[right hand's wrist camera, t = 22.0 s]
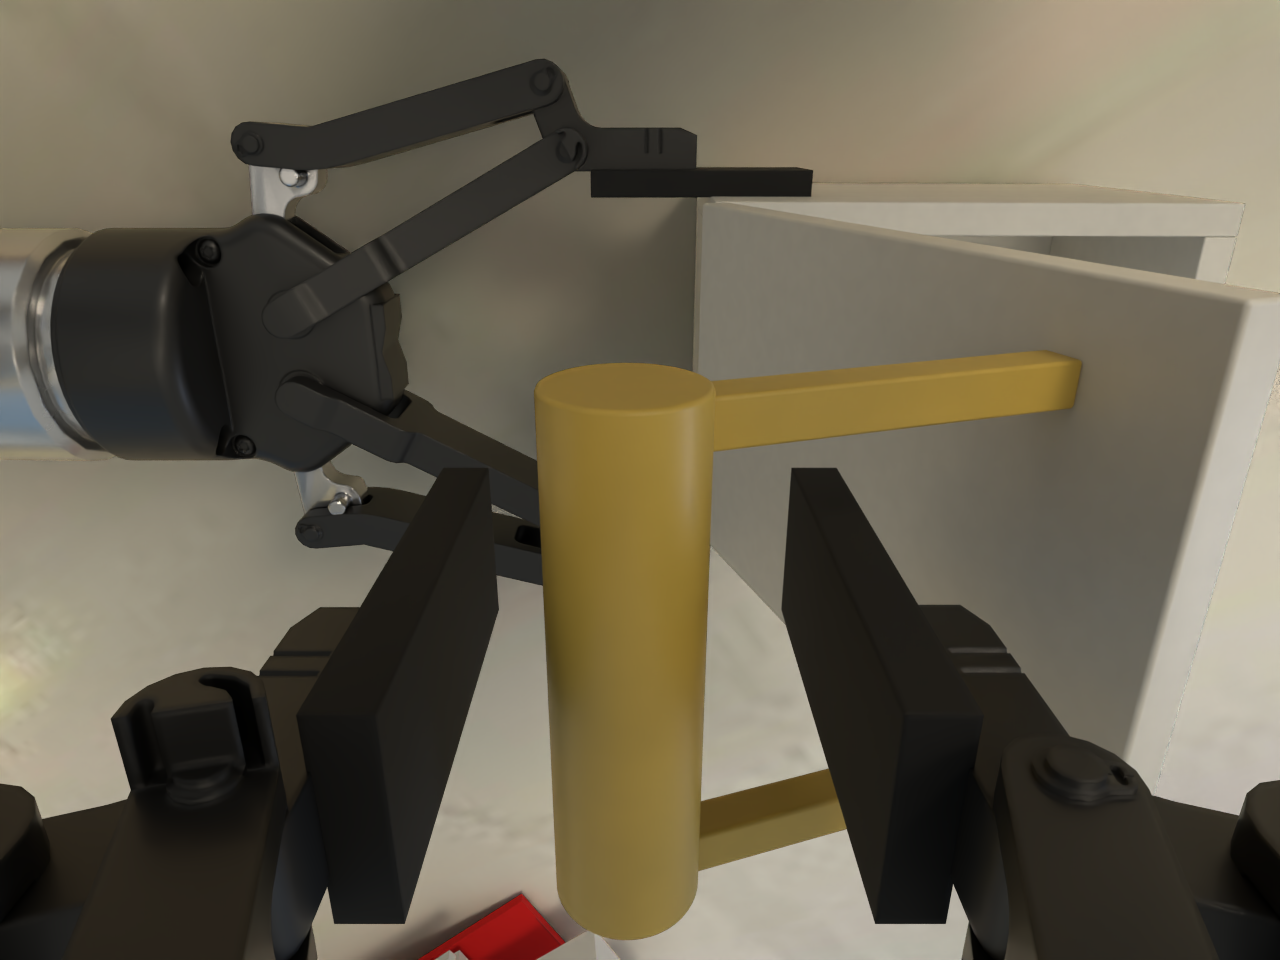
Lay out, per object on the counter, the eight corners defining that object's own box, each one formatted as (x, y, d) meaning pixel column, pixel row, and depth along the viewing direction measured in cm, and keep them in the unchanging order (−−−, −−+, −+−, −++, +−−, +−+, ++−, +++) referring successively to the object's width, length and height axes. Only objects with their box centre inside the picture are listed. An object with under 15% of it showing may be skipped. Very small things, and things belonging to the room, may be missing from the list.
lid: (1302, 295, 10) (592, 351, 7) (1120, 921, 13) (607, 1106, 11) (729, 202, 23) (415, 209, 20) (716, 524, 26) (448, 565, 24)
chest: (1074, 183, 32) (1246, 203, 23) (1030, 422, 36) (1164, 524, 27) (697, 182, 33) (714, 201, 23) (691, 420, 36) (704, 520, 27)
